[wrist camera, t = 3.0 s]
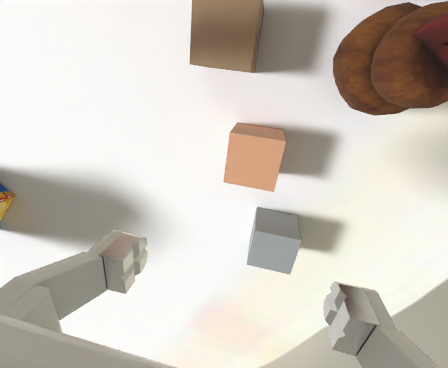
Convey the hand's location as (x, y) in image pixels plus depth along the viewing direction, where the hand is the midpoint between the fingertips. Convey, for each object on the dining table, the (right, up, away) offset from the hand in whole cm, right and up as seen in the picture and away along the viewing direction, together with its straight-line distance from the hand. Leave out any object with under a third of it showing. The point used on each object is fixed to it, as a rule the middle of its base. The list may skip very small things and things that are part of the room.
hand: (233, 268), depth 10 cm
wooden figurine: (+12, +14, +11) cm, 22 cm away
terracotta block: (+3, +8, +16) cm, 18 cm away
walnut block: (0, +17, +12) cm, 21 cm away
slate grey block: (+6, -2, +20) cm, 21 cm away
